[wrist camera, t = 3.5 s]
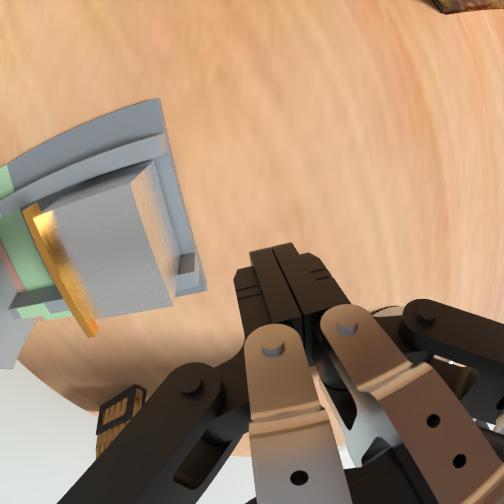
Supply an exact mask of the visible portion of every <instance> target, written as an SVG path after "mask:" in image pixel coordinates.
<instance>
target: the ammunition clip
mask: <svg viewBox="0 0 504 504" xmlns="http://www.w3.org/2000/svg"><path fill="white" fill-rule="evenodd" d="M146 392H147V390H145V389H143V388H141V387H139V386H137V385H135V384H134V385H133V386H131V387H130V388H128V389H127V390H125V391H124V392H122V393H121V394H119V395H117V396H116V397H114V398H113V399H111V400H110V401H108V402H106V403H105V404H103V405H102V406H100V411H99V417H98V424H97V430H96V435H98V437H97V444H96V459H97V458H98V457H99V456H100V455H101V454H102V452H103V451H104V450H105V449H106V448H107V447H108V446H109V444H110V443H111V442H112V441H113V440H114V439H115V438H116V436H117V435H118V434H119V433H120V432H121V431H122V429H123V428H124V427H125V426H126V425H127V424H128V422H129V421H130V420H131V419H132V418H133V417H134V416H135V414H136V413H137V412H138V411H139V410H140V409H141V407H142V406H143V405H144V404H145V400H146Z"/></svg>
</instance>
